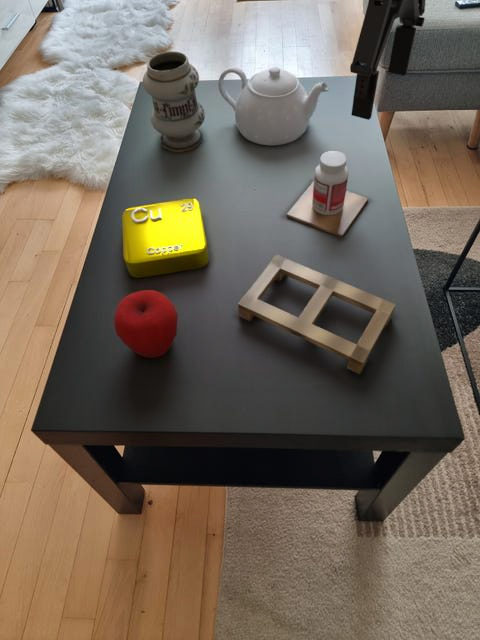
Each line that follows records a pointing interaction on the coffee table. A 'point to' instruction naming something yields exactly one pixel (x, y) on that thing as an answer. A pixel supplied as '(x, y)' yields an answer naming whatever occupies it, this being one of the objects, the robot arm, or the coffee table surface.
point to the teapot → (272, 105)
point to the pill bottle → (330, 183)
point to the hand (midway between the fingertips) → (379, 93)
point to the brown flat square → (328, 223)
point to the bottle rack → (318, 310)
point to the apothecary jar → (174, 100)
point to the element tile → (164, 238)
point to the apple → (146, 322)
